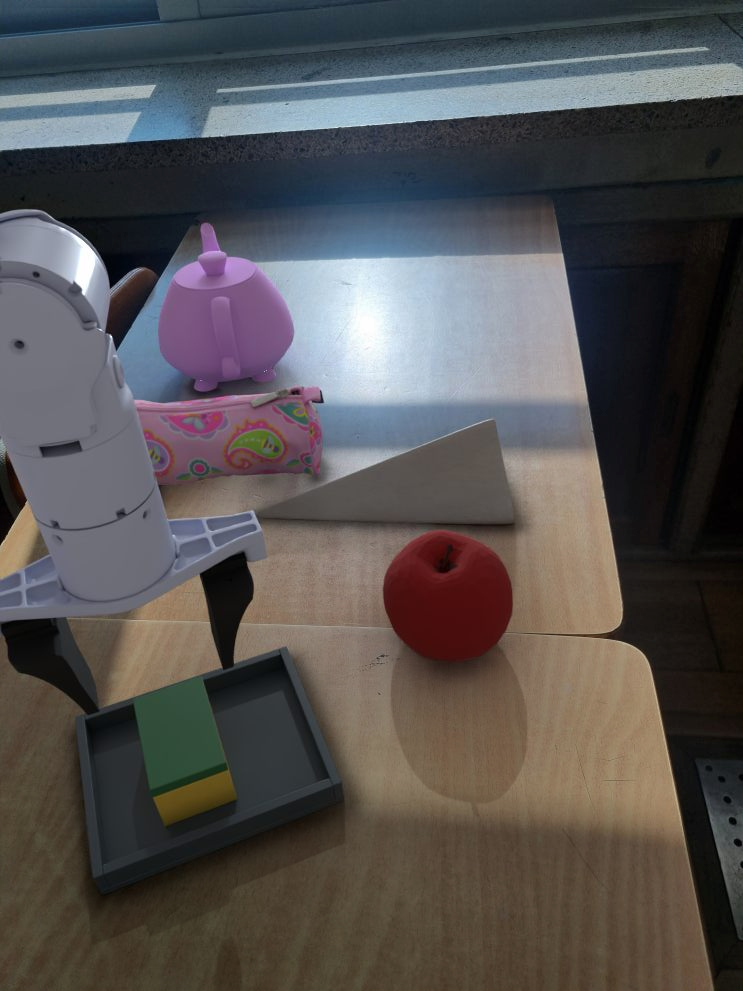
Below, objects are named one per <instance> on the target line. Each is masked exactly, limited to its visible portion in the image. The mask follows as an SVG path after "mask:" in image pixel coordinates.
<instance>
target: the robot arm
mask: <svg viewBox="0 0 743 991" xmlns="http://www.w3.org/2000/svg"><path fill="white" fill-rule="evenodd" d="M110 304H111V288H110V279H109V274H108V271H107V267H106V265H105V262H104V260H103V259H102V257H101V255H100V254H99V252H98V251H97V249H96V248H95V247H94V246H93V244H92V243H91V242H90V241H89V240H88V239H87V238H86V237H85V236H83V234H81V233H80V232H78V231H77V230H76V229H74V228H72V227H71V226H69V225H67V224H66V223H63V222H61V221H58V220H56V219H54V218H53V217H52V216H51V215H49V214H48V213H47V212H45V211H43V210H39V209H27V208H25V209H14V210H9V211H4V212H2V213H0V439H1V441H2V444H3V446H4V448H5V451H6V453H7V456H8V458H9V460H10V463H11V465H12V468H13V470H14V473H15V475H16V477H17V479H18V482H19V484H20V486H21V489H22V491H23V494H24V497H25V498H26V501H27V503H28V506H29V508H30V510H31V513H32V516H33V518H34V520H35V523H36V525H37V528H38V529H39V532H40V534H41V536H42V539H43V542H44V544H45V546H46V548H47V551H48V553H49V554H47V555H45V556H44V557H42V558H39V559H38V560H36V561H34V562H32V563H30V564H27V565H26V566H24V567H22V568H19V569H18V570H16V571H14V572H12V573H10V574H8V575H6V576H3V577H2V578H0V639H1V638H2V637H4V641H5V644H6V647H7V648H6V650H7V653H6V654H7V660H8V662H9V664H10V665H11V666H12V668H14V670H15V671H16V672H17V673H18V674H23V675H26V676H30V677H33V678H36V679H39V680H41V681H44V682H46V683H48V684H50V685H51V686H53V687H54V688H56V689H58V690H59V691H61V692H62V693H63V694H64V695H66V696H67V697H68V698H69V699H71V700H72V701H73V702H74V703H75V704H76V705H77V706H78V707H79V708H80V709H81V710H82V711H83V712H84V714H85V713H86V714H87V715H91V714H94V713H97V712H100V710H99V708H100V704H99V697H98V690H97V684H96V682H95V679H94V675H93V673H92V671H91V669H90V667H89V664H88V663H87V661H86V658H85V657H84V655H83V653H82V651H81V650H80V648H79V646H78V644H77V642H76V639H75V637H74V634H73V632H72V629H71V626H70V624H69V621H68V619H67V618H74V617H91V616H93V617H94V616H108V615H109V616H110V615H118V614H121V613H126V612H130V611H134V610H136V609H139V608H141V607H143V606H145V605H147V604H149V603H152V602H153V601H155V600H157V599H158V598H160V597H162V596H163V595H165V594H167V593H169V592H170V591H172V590H174V589H176V588H178V587H180V586H181V585H184V583H186V582H188V581H189V580H192V579H193V578H194V577H197V576H198V575H199V578H200V582H201V585H202V589H203V593H204V597H205V601H206V607H207V612H208V620H209V625H210V631H211V635H212V639H213V642H214V646H215V649H216V653H217V655H218V658H219V662H220V666H221V668H223V670H226V669H229V668H232V667H233V666H234V663H235V649H236V648H235V647H236V643H237V642H236V641H237V636H238V632H239V629H240V626H241V622H242V619H243V617H244V614H245V613H246V611H247V609H248V607H249V606H250V604H251V603H252V601H253V600H254V595H255V582H254V578H253V575H252V573H251V570H250V568H249V566H248V565H249V564H250V563H252V564H253V563H256V562H259V561H262V560H265V559H268V553H267V547H266V543H265V538H264V532H263V529H262V527H261V525H260V523H259V520H258V517H256V515H255V513H256V512H255V511H254V510H253V509H252V510H248V511H244V512H240V513H235V514H229V515H220V516H206V517H205V516H204V517H188V518H174V519H173V518H172V519H169V518H168V515H167V512H166V508H165V505H164V500H163V497H162V494H161V491H160V487H159V485H158V484H157V480H156V477H155V472H154V469H153V465H152V462H151V458H150V455H149V451H148V448H147V444H146V441H145V437H144V434H143V430H142V427H141V423H140V420H139V416H138V413H137V409H136V406H135V402H134V400H135V399H134V396H133V392H132V391H131V389H130V387H129V385H128V384H127V383H126V380H125V373H124V372H125V371H124V368H123V365H122V362H121V361H120V358H119V357H118V353H117V349H116V346H115V342H114V338H113V336H112V334H109V333H107V332H106V329H107V325H108V324H107V323H108V318H109V309H110ZM248 563H249V564H248Z"/></svg>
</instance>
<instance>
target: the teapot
mask: <svg viewBox="0 0 743 991" xmlns="http://www.w3.org/2000/svg"><path fill="white" fill-rule="evenodd" d="M200 237H201V241H202V254H200V255H198V257H197V260H196V261H194V262H191V263H188V264H186V265H184V266H182V267H181V268H179V269H178V270H177V271H176V272H175V273H174V275H173V276H172V279H171V281H170V283H169V285H168V287H167V290H166V293H165V296H164V298H163V300H162V303H161V307H160V311H159V317H158V322H157V323H158V324H157V338H158V339H157V340H158V346H159V351H160V354H161V356H162V357H163V359H164V361H165V362H166V363H168V365H170V366H171V367H172V368H174V369H175V370H177V371H178V372H179V373H181V374H183V375H184V376H187V377H189V378H191V379H193V380H195V382H194V385H193V388H194V390H195V391H198V392H209V391H213V390H215V389H216V388H217V387H218V386H219V382H231V381H238V380H243V379H247V378H252V381H254V382H257V383H267V382H271V381H272V380H274V379H275V378H276V376H277V374H276V372H275V371H274V369H273V367H274V366H276V364H278V363H279V362H280V361H281V359H282V358H283V357H284V356H285V354H286V353H287V351H288V350H289V349H290V347H291V345H292V343H293V341H294V338H295V327H294V321H293V318H292V315H291V312H290V309H289V307H288V305H287V303H286V301H285V299H284V297H283V295H282V293H281V292H280V291H279V289H277V286H276V285H275V284H274V282H272V280H271V279H270V278H269V276H267V275H266V274H265V272H264V271H263V270H262V269H261V268H260V267H259V266H258V265H257V264H255V263H254V262H253V261H251V260H249V259H247V258H243V257H237V256H228V254H227V252H225V251H221V248H220V245H219V242H218V240H217V236H216V232H215V230H214V227H213V225H212V224H210V223H209V222H204V223H202V224H201V226H200ZM266 370H267V371H266ZM264 371H265V372H264ZM200 380H202V381H200Z"/></svg>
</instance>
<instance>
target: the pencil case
mask: <svg viewBox="0 0 743 991" xmlns="http://www.w3.org/2000/svg"><path fill="white" fill-rule="evenodd" d="M134 402H135V406H136V409H137V413H138V416H139V420H140V423H141V427H142V430H143V434H144V437H145V441H146V444H147V448H148V451H149V455H150V458H151V462H152V465H153V469H154V472H155V477H156V480H157V484H158V486H163V485H164V486H165V485H166V486H167V485H187V484H188V485H189V484H194V483H197V482H201V481H206V480H213V479H217V478H222V477H225V478H226V477H233V476H236V477H237V476H239V477H240V476H241V477H243V476H247V477H248V476H264V475H265V476H266V475H277V474H293V475H303V474H305V475H308V476H311V477H315V476H317V477H318V476H320V474H321V463H322V462H321V461H322V456H323V455H322V454H323V444H324V440H323V438H324V436H323V426H322V421H321V417H320V414H319V412H318V410H317V408H316V407H315V405H314V404H324V403H325V401H324V396H323V391H322V390H321V389H320V386H319V385H310V386H309V385H308V386H304V385H300V384H298V385H295V386H292V387H289V388H282V389H279V390H277V392H276V391H274V392H273V391H272V392H270V393H258V394H256V393H255V394H241V395H240V394H239V395H235V394H233V395H223V396H219V397H218V396H217V397H211V398H210V397H209V398H198V399H192V400H191V399H190V400H184V401H170V402H164V403H163V402H156V401H151V400H146V399H134Z"/></svg>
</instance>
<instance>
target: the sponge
mask: <svg viewBox="0 0 743 991" xmlns="http://www.w3.org/2000/svg"><path fill="white" fill-rule="evenodd" d="M133 703H134V709H135V714H136V719H137V725H138V730H139V735H140V741H141V746H142V752H143V757H144V762H145V768H146V773H147V778H148V784H149V789H150V792H151V794H152V797H153V799H154V801H155V804H156V806H157V809H158V811H159V813H160V816H161V818H162V821H163V823H164V825H165V826H168V825H171V824H173V823H176V822H179V821H181V820H184V819H187V818H189V817H192V816H195V815H197V814H200V813H202V812H205V811H208V810H210V809H213V808H216V807H218V806H221V805H224V804H226V803H229V802H231V801H234V800H236V799H237V796H236V793H235V789H234V786H233V782H232V779H231V775H230V772H229V768H228V765H227V761H226V757H225V754H224V750H223V747H222V743H221V740H220V736H219V733H218V729H217V726H216V722H215V719H214V715H213V712H212V708H211V705H210V702H209V698H208V695H207V692H206V688H205V685H204V682H203V678H202V677H198V678H195V679H192V680H189V681H186V682H183V683H180V684H177V685H174V686H171V687H168V688H165V689H162V690H159V691H156V692H153V693H150V694H147V695H144V696H141V697H138V698H135V699H133Z"/></svg>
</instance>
